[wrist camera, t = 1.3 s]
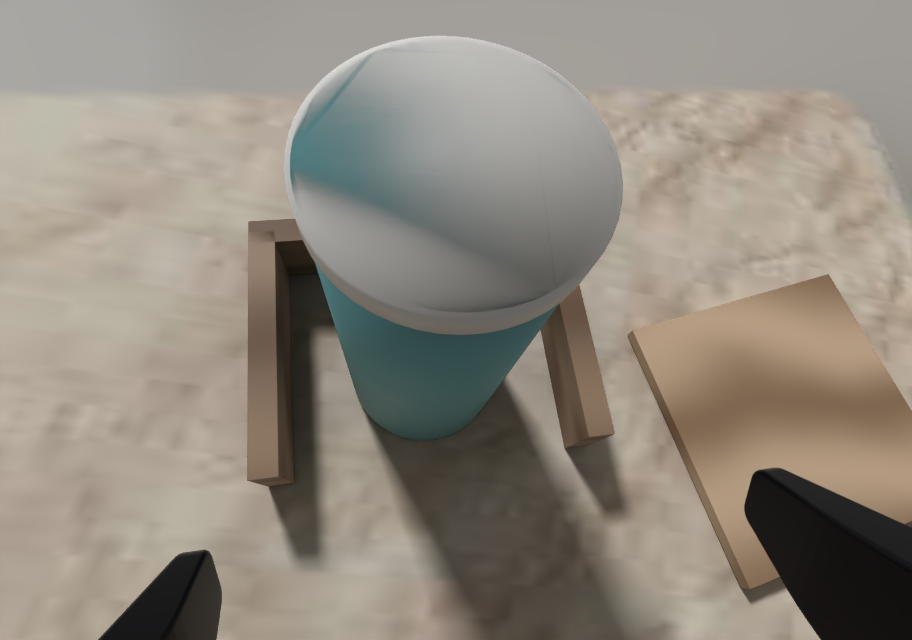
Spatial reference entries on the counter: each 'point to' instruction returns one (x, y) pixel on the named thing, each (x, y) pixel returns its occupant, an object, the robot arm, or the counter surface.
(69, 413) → the counter surface
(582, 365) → the cubby
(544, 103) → the tin
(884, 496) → the mat
